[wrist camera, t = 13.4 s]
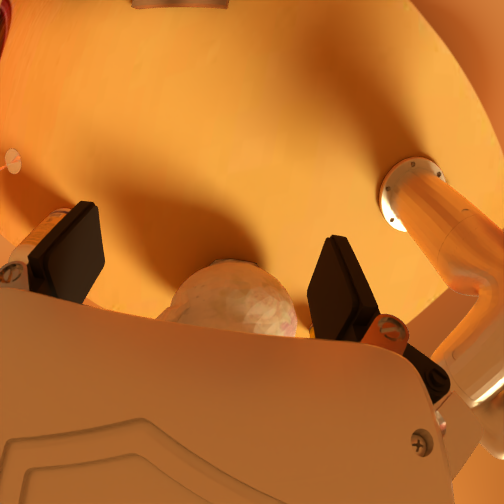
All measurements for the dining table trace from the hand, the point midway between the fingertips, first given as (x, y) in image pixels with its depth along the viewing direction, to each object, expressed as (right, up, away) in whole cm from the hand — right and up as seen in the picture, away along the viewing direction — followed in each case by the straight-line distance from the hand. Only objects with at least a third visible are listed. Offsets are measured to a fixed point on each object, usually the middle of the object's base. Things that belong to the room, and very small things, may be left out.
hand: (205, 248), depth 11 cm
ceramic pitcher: (-2, -5, +38) cm, 39 cm away
